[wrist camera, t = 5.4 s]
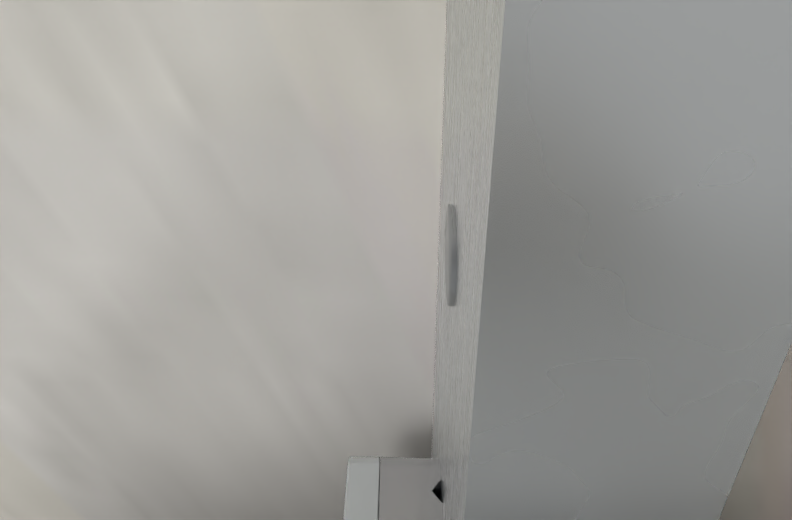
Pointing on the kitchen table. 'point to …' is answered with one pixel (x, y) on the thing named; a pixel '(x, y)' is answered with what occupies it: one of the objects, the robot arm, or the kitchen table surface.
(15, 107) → the kitchen table surface
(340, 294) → the kitchen table surface
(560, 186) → the long grey beam
